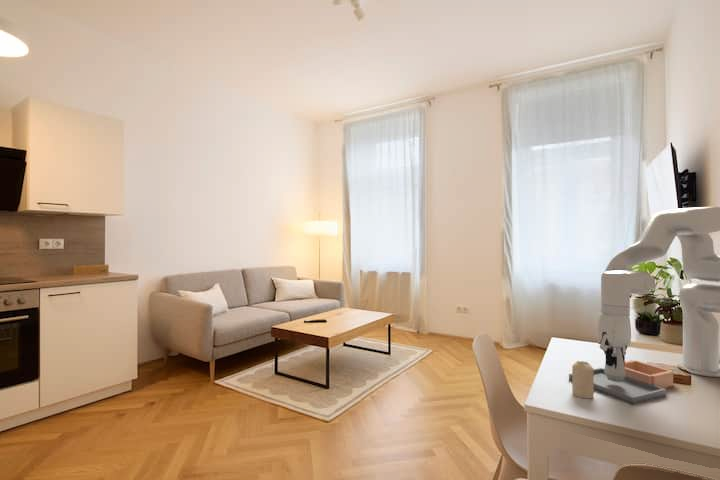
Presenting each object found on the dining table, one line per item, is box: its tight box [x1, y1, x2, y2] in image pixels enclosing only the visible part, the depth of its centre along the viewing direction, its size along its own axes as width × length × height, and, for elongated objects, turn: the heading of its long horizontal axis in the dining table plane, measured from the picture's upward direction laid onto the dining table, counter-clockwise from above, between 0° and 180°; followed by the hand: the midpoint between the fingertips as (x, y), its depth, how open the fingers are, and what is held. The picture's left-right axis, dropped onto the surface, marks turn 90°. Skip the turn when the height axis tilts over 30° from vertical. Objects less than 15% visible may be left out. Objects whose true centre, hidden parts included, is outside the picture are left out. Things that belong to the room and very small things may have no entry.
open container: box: [625, 359, 674, 389], centre depth 121 cm, size 12×12×4 cm
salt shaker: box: [603, 343, 626, 382], centre depth 115 cm, size 6×6×13 cm
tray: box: [568, 367, 667, 406], centre depth 115 cm, size 16×20×2 cm
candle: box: [571, 360, 595, 400], centre depth 110 cm, size 6×6×10 cm
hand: (615, 366), depth 115 cm, fingers closed on salt shaker, 3 cm apart
